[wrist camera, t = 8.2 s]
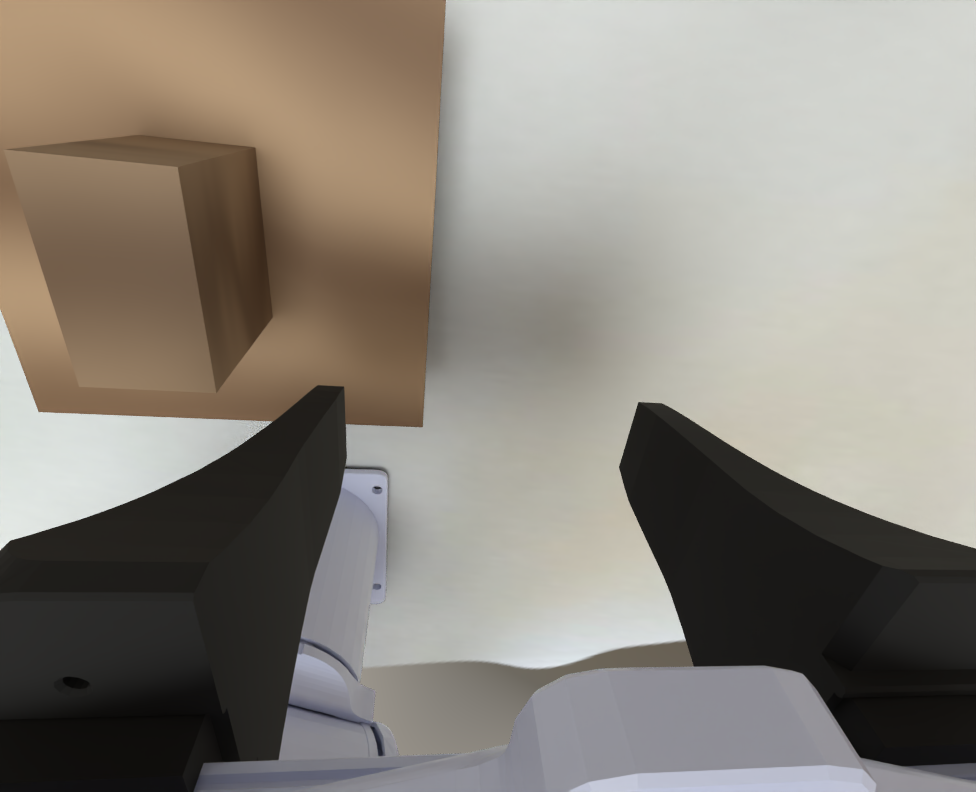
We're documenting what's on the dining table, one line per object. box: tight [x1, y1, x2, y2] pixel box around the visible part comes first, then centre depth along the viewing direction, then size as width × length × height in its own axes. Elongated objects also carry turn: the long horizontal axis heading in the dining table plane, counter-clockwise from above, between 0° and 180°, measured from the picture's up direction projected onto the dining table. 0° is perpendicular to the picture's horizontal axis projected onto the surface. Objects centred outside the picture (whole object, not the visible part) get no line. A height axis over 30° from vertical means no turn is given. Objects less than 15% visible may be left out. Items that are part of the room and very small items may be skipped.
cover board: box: [0, 0, 446, 427], centre depth 13 cm, size 13×13×6 cm
